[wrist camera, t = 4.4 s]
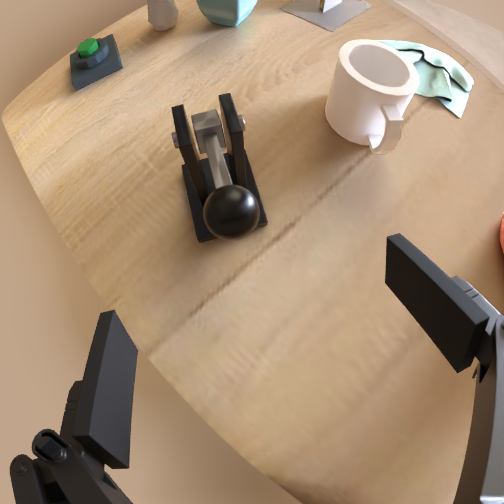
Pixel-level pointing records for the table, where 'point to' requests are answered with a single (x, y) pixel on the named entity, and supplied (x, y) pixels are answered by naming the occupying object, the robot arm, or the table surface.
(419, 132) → the table surface
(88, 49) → the button
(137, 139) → the table surface
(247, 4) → the flower pot
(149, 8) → the salt shaker
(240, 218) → the lever
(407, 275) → the robot arm
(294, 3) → the platform
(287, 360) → the table surface
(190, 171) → the switch bracket
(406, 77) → the mug
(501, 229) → the teapot
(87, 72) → the control block
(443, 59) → the cloth
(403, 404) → the table surface
